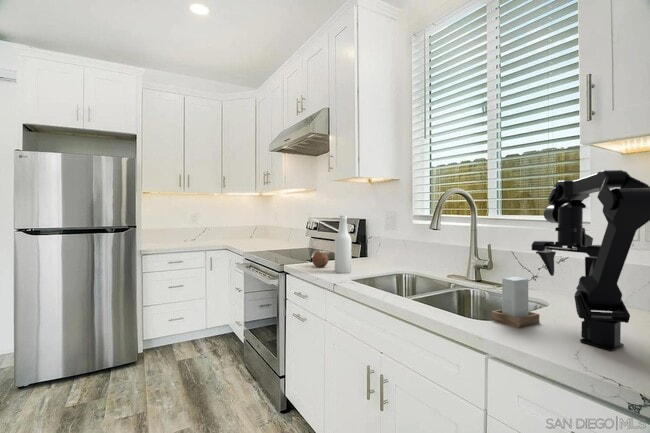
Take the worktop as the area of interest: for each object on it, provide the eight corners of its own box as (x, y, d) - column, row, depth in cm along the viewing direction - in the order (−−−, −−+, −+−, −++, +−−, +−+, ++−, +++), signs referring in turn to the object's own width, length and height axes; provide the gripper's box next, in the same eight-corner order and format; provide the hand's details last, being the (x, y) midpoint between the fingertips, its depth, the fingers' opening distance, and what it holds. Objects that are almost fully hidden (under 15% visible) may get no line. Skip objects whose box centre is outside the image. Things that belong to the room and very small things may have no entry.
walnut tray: (539, 322, 97) (539, 314, 97) (519, 328, 92) (519, 319, 92) (512, 314, 104) (512, 306, 104) (491, 319, 100) (492, 311, 100)
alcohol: (331, 271, 177) (331, 215, 177) (343, 270, 182) (344, 215, 182) (342, 274, 170) (342, 215, 170) (354, 272, 176) (355, 215, 175)
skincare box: (515, 315, 102) (515, 276, 101) (528, 319, 98) (529, 278, 98) (501, 318, 99) (501, 277, 99) (514, 322, 95) (514, 280, 95)
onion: (314, 271, 194) (307, 256, 196) (328, 266, 198) (321, 250, 200) (318, 268, 185) (312, 251, 187) (333, 262, 189) (326, 246, 191)
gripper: (623, 224, 92) (622, 281, 92) (551, 222, 108) (550, 270, 108) (604, 225, 86) (603, 285, 87) (530, 223, 103) (530, 273, 103)
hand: (569, 278), depth 96 cm, fingers open, 9 cm apart
